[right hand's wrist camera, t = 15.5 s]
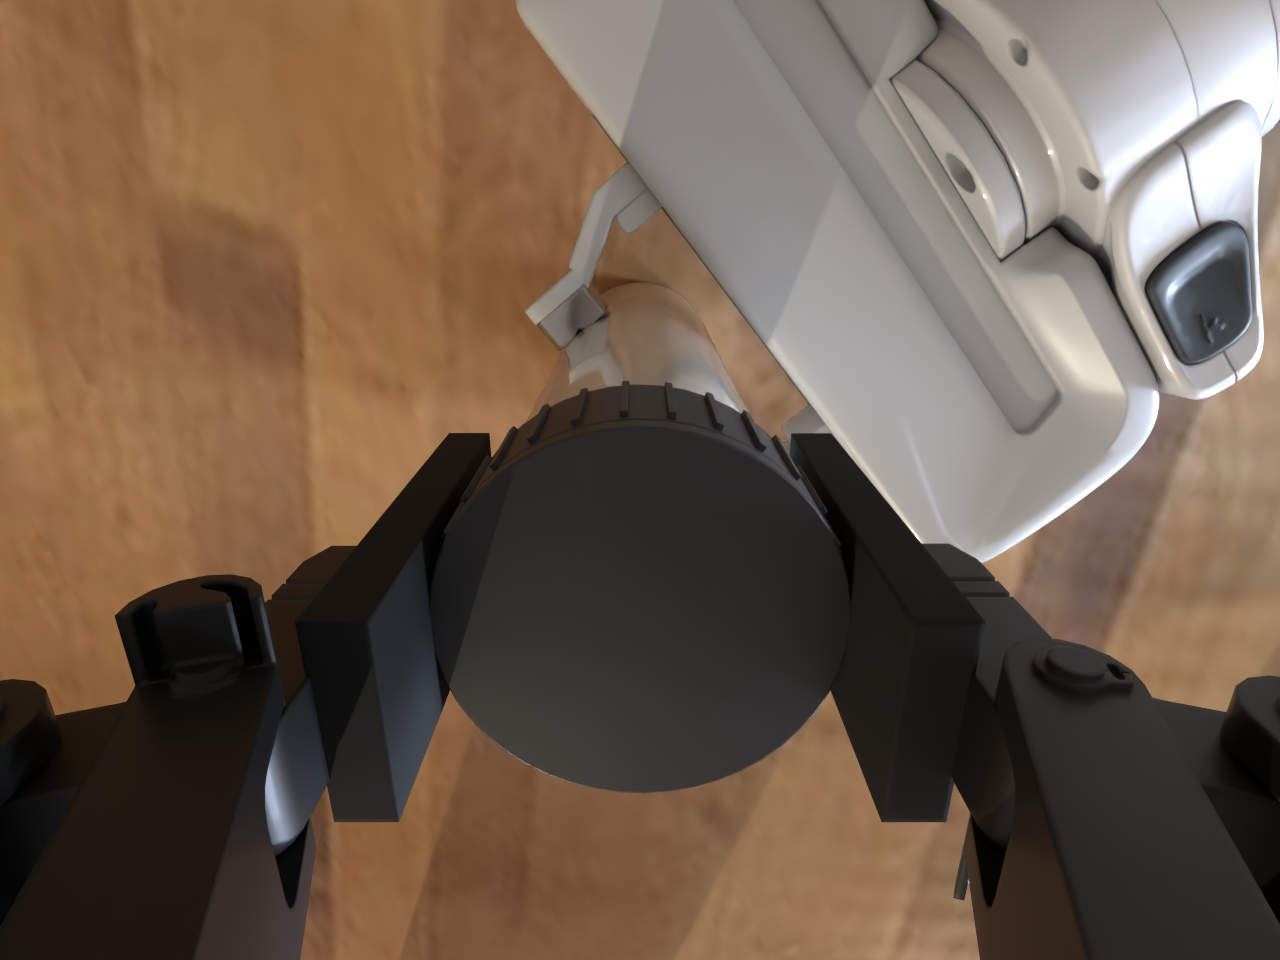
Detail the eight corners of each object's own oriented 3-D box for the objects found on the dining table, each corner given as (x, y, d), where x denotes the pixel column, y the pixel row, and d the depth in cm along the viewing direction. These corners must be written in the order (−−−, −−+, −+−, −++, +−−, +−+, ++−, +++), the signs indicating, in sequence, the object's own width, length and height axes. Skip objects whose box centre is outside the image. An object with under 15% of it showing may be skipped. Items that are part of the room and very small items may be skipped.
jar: (556, 298, 27) (405, 474, 10) (695, 268, 26) (802, 397, 9) (588, 431, 29) (510, 780, 11) (719, 405, 28) (843, 726, 11)
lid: (394, 588, 12) (342, 669, 10) (596, 298, 10) (584, 323, 8) (674, 753, 13) (680, 856, 11) (894, 518, 12) (950, 588, 10)
